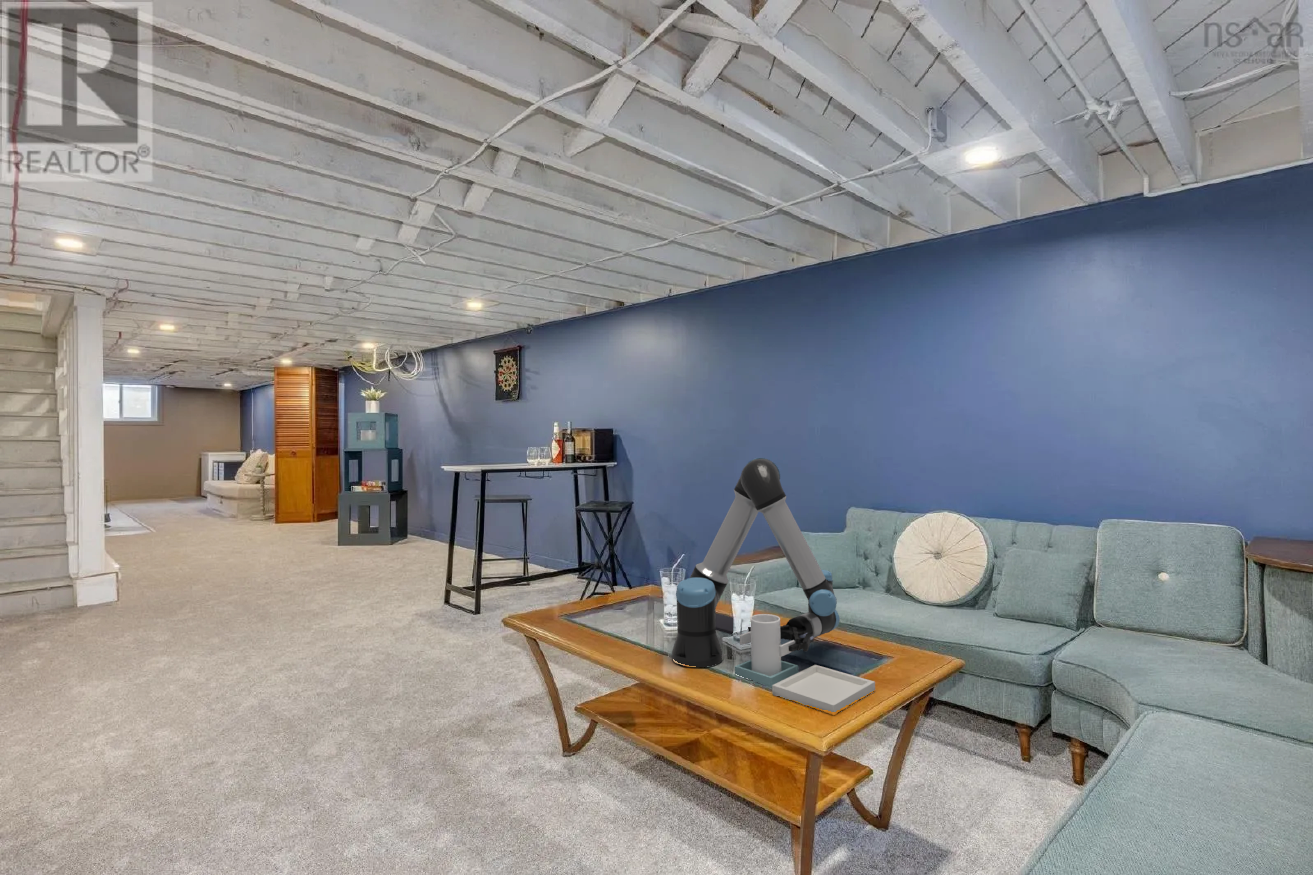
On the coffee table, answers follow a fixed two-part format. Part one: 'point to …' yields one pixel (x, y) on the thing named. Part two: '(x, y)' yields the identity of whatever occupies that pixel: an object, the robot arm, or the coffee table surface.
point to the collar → (747, 672)
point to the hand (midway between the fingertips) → (759, 645)
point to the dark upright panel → (724, 623)
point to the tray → (823, 688)
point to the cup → (765, 644)
